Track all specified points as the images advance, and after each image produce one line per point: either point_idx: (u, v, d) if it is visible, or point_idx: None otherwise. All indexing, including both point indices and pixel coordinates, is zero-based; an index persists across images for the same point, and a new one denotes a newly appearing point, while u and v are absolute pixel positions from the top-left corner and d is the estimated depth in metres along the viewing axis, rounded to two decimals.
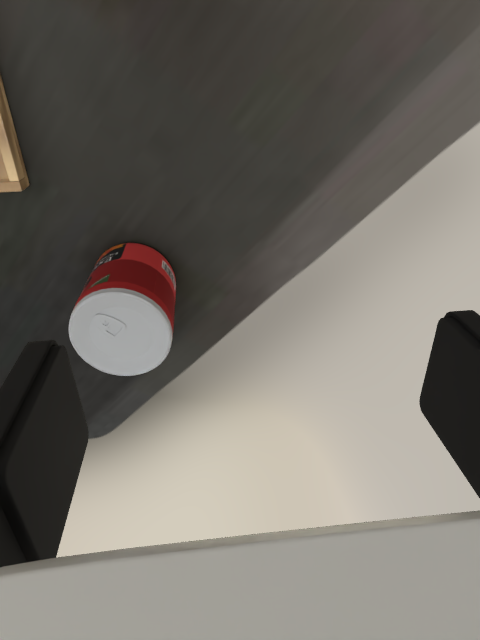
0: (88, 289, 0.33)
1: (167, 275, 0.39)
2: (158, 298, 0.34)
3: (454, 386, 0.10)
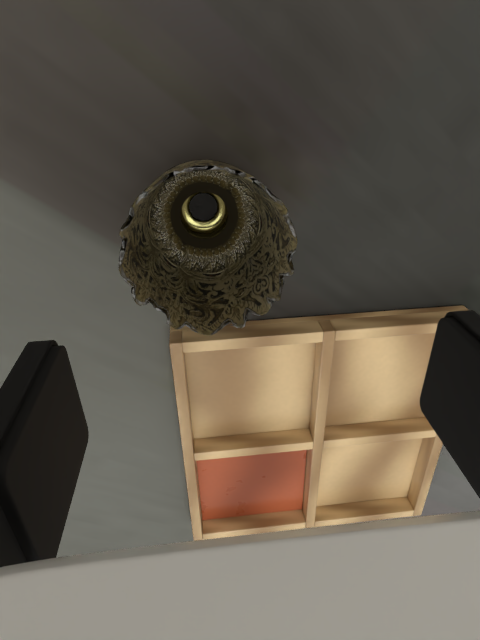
0: None
1: None
2: None
3: (454, 386, 0.10)
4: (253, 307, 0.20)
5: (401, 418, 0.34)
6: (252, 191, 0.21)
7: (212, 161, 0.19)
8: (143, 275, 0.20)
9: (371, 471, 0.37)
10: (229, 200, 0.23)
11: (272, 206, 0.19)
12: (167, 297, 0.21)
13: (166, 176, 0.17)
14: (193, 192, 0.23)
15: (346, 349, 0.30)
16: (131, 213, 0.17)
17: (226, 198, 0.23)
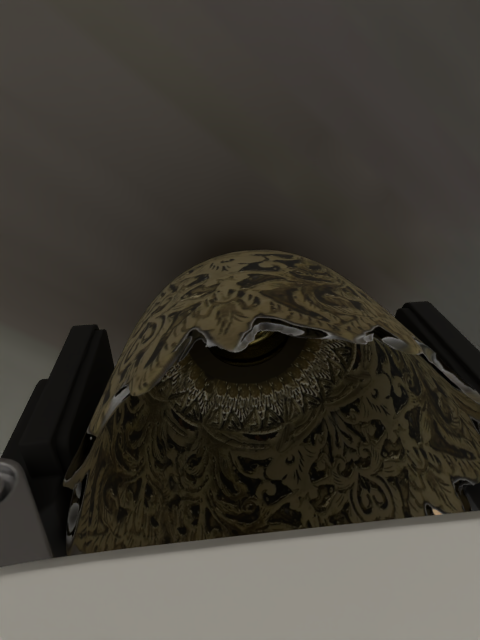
0: None
1: None
2: None
3: None
4: None
5: None
6: None
7: (289, 272, 0.08)
8: (132, 498, 0.09)
9: None
10: None
11: (420, 367, 0.08)
12: (181, 527, 0.10)
13: (185, 342, 0.06)
14: None
15: None
16: None
17: None
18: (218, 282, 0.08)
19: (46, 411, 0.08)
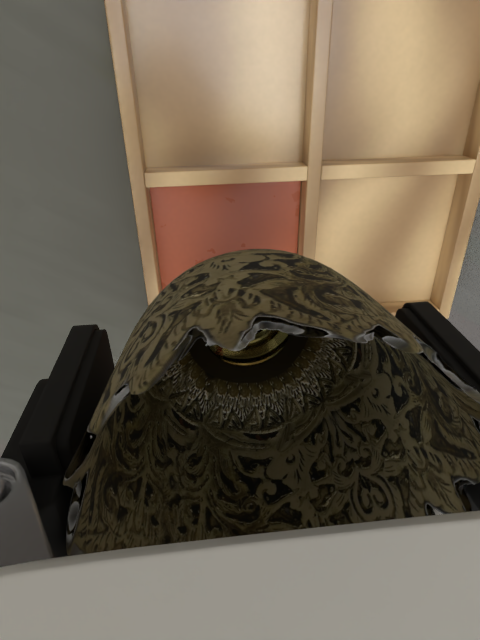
0: None
1: None
2: None
3: None
4: None
5: (426, 154, 0.26)
6: None
7: (289, 271, 0.08)
8: (132, 497, 0.09)
9: (384, 250, 0.29)
10: None
11: (420, 366, 0.08)
12: (182, 526, 0.10)
13: (185, 340, 0.06)
14: None
15: (353, 9, 0.22)
16: None
17: None
18: (218, 281, 0.08)
19: (46, 411, 0.08)
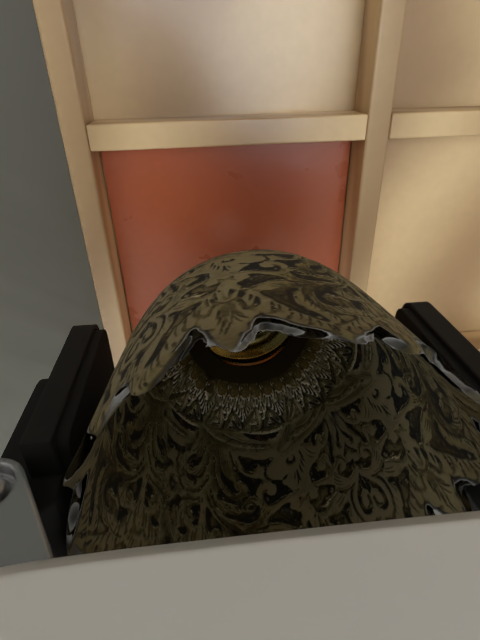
0: None
1: None
2: None
3: None
4: None
5: None
6: None
7: (289, 272, 0.08)
8: (132, 498, 0.09)
9: (471, 256, 0.19)
10: None
11: (421, 367, 0.08)
12: (182, 527, 0.10)
13: (185, 341, 0.06)
14: None
15: None
16: None
17: None
18: (219, 282, 0.08)
19: (46, 411, 0.08)
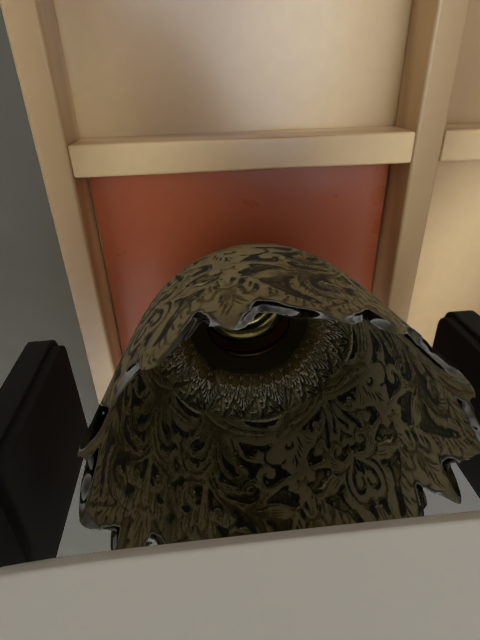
0: None
1: None
2: None
3: None
4: None
5: None
6: None
7: (287, 262, 0.09)
8: (139, 476, 0.10)
9: None
10: None
11: (410, 352, 0.09)
12: (185, 506, 0.11)
13: (190, 323, 0.07)
14: None
15: None
16: None
17: None
18: (221, 271, 0.08)
19: None
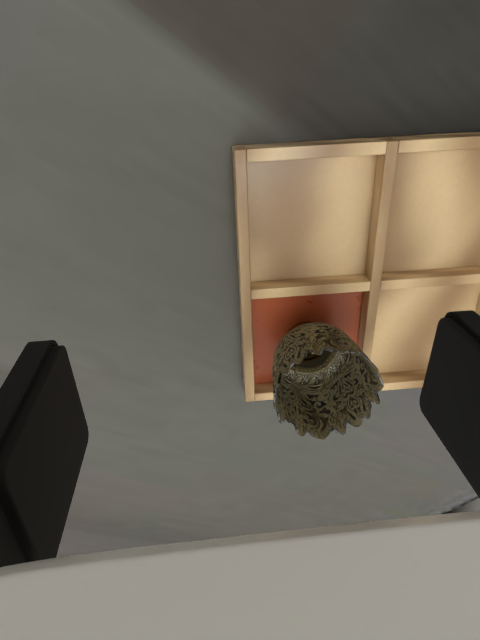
0: None
1: None
2: None
3: (454, 386, 0.10)
4: (350, 419, 0.31)
5: (459, 266, 0.34)
6: None
7: (328, 333, 0.30)
8: (279, 399, 0.31)
9: (425, 332, 0.37)
10: None
11: (365, 359, 0.30)
12: (292, 411, 0.32)
13: (306, 352, 0.28)
14: None
15: (406, 176, 0.30)
16: (283, 373, 0.28)
17: None
18: (309, 336, 0.30)
19: None
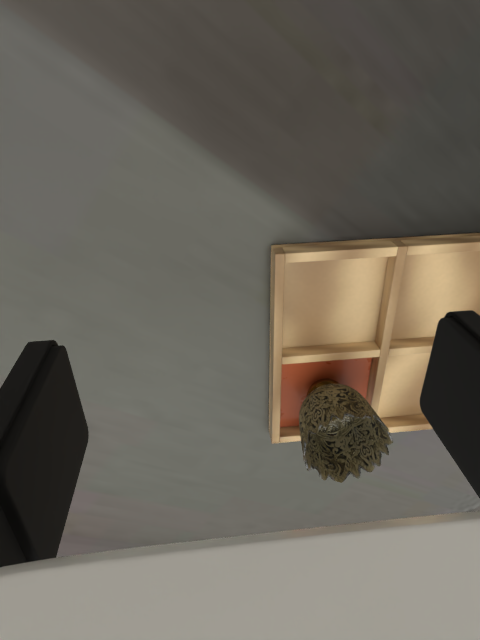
0: None
1: None
2: None
3: (454, 386, 0.10)
4: (363, 465, 0.38)
5: None
6: None
7: (347, 397, 0.36)
8: (305, 449, 0.38)
9: None
10: None
11: None
12: (315, 458, 0.38)
13: (331, 416, 0.34)
14: None
15: (411, 267, 0.37)
16: (312, 432, 0.35)
17: None
18: (332, 400, 0.36)
19: None
